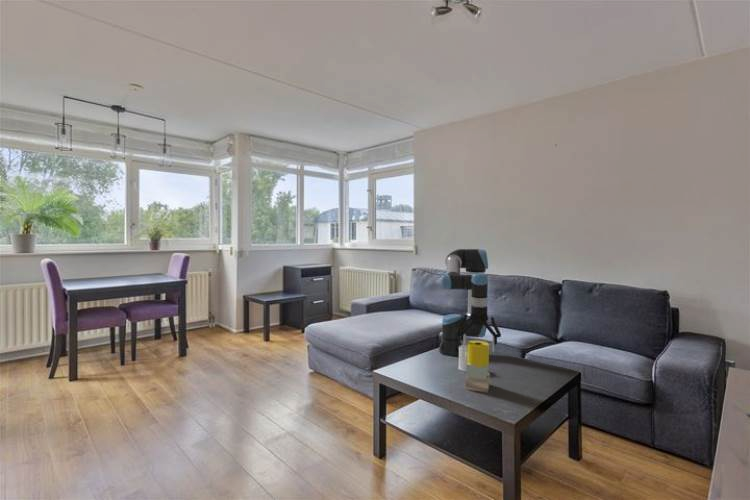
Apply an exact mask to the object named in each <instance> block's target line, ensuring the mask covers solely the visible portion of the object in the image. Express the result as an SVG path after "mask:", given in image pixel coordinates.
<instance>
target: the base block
mask: <svg viewBox="0 0 750 500" xmlns="http://www.w3.org/2000/svg"><path fill="white" fill-rule="evenodd" d="M490 376H491V373H490V372H488V375H487V378H486V380H483V379H477V378H470V377H466V376H465V390H467V391H469V390H470V391H474V392H475V391H476V392H479V393H486V394H488V393H489V389H490V385H491V383H490V381H491V377H490Z"/></svg>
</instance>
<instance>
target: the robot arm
mask: <svg viewBox="0 0 750 500" xmlns="http://www.w3.org/2000/svg"><path fill="white" fill-rule="evenodd" d="M488 260H489V259H488V254H487V251H486V250H485V249H483V248H482V249H479V248H458V249H455V250H453V251H451V252H450V253H448V255H447V256H446V258H445V262H444V265H445V267H446V269H445V274H442V275H441V288H442V289H444V290H463V291H465V290H466V291H467V312H466V313H465V314H464V317H463V316H462V314H459V313H458V314H457V313H451V314H446V315H444V316H443V317H442V322H441V325H442V328H441V329H442V330H441V332H442V333H441V335H442V336H441V342H440V344H439V347H438V349H439V351H438V352H439V353H440V354H442V355H444V356H445V355H446V356H451V357H457V356H458V357H459V346H462V345H463V348H465V347H466V343H467V340H466V338H468V337H469V338H484V337H485V336H486V333H487V330H488V332H489V333H490V334H491V335H492V338H491V341H492V343H491V344H492V346H491V348H492V349H491V351H492V352H493V353H494V352H495V345H498V338H500V337H502V333H501V331H500V329H499V327H498V325H497V322H496V321H495V316H494V315H493V316H488V303H489V302H488V298H489V297H488V291H489V288H488V287H489V278H488V274H487V273H486V270H487V269H489V261H488ZM461 269H465V272H466V273H467V274H461ZM488 321H490V322H491V324H492V327H493V328H494V329H493V328H492V327H491V326H490V324H489V323H488Z"/></svg>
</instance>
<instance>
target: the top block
mask: <svg viewBox="0 0 750 500" xmlns="http://www.w3.org/2000/svg"><path fill="white" fill-rule="evenodd" d="M465 373H466V375H465V378H466V377H470V378H477V379H483V380H486V378H487V375H488V373H489V365H487V366H473V365H470V364H468V363H467V364H466V372H465Z"/></svg>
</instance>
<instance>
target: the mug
mask: <svg viewBox="0 0 750 500" xmlns="http://www.w3.org/2000/svg"><path fill="white" fill-rule="evenodd" d="M466 364H467V345H466V347H465V348H463V344H462V346H459V356H458V367H457V368H458V370H460V371H462V372H465V373H466Z"/></svg>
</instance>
